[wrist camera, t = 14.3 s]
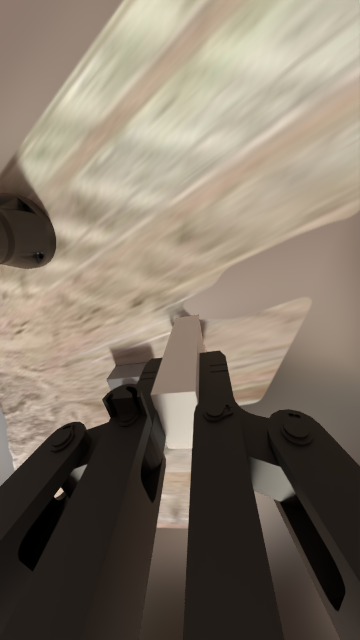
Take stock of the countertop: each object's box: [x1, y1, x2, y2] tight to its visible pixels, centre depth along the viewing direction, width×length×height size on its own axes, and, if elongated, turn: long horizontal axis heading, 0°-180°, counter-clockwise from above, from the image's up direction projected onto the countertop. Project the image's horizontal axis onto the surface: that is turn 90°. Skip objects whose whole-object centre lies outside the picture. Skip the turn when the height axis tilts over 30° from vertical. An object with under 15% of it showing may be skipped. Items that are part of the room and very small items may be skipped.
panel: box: [107, 363, 167, 443], centre depth 57 cm, size 26×12×6 cm, turn 11°
